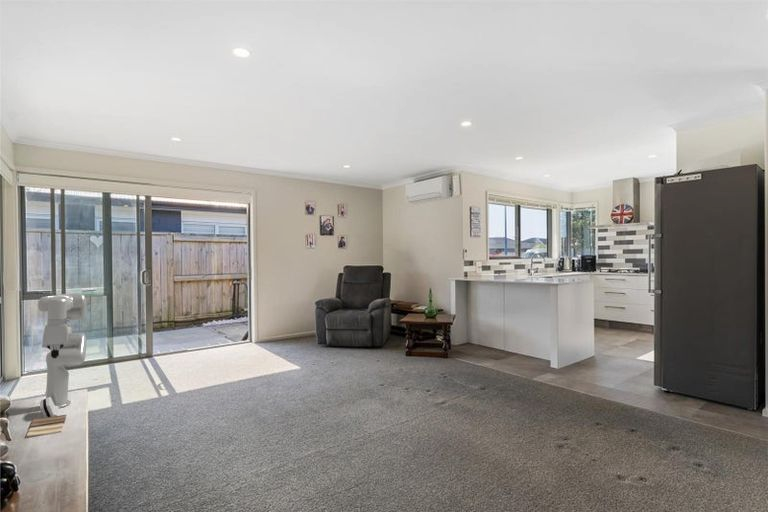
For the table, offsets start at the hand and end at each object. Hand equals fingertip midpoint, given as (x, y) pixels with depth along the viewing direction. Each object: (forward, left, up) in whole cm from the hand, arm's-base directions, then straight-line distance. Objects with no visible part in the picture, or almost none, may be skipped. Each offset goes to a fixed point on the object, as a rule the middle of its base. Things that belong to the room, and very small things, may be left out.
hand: (54, 357), depth 200 cm
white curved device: (-10, -2, -32) cm, 34 cm away
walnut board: (+5, 0, -32) cm, 32 cm away
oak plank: (+17, 0, -32) cm, 36 cm away
